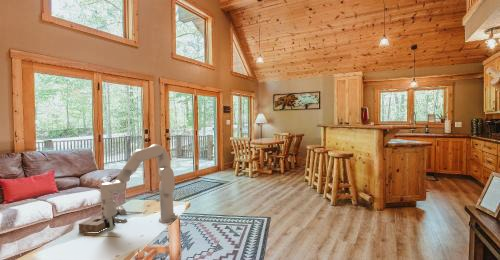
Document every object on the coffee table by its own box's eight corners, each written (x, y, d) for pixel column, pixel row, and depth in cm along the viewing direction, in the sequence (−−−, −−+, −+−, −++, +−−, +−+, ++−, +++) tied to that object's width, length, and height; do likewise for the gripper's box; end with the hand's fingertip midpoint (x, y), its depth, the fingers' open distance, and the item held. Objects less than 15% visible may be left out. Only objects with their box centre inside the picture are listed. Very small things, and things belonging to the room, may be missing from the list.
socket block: (115, 224, 193) (114, 216, 193) (97, 233, 178) (97, 225, 178) (97, 223, 197) (97, 215, 197) (79, 232, 182) (78, 223, 182)
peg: (114, 228, 182) (112, 212, 181) (110, 231, 178) (109, 214, 178) (110, 228, 183) (108, 212, 182) (106, 230, 179) (104, 213, 179)
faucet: (149, 212, 225) (136, 225, 197) (117, 210, 224) (99, 223, 196) (150, 207, 224) (136, 219, 197) (117, 205, 224) (100, 216, 196)
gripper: (102, 204, 171) (105, 231, 171) (121, 196, 187) (123, 221, 187) (93, 204, 172) (95, 231, 173) (112, 196, 188) (114, 221, 189)
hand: (110, 225), depth 180 cm, fingers closed on peg, 3 cm apart
